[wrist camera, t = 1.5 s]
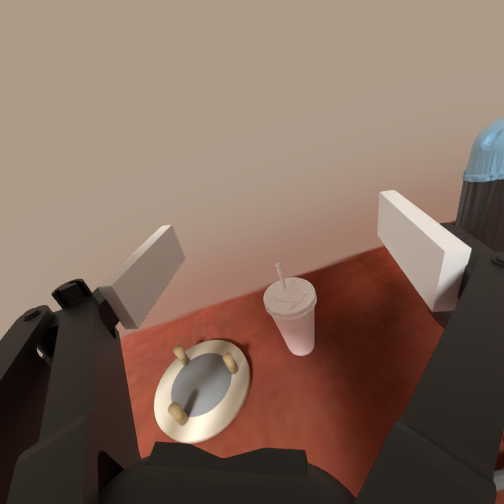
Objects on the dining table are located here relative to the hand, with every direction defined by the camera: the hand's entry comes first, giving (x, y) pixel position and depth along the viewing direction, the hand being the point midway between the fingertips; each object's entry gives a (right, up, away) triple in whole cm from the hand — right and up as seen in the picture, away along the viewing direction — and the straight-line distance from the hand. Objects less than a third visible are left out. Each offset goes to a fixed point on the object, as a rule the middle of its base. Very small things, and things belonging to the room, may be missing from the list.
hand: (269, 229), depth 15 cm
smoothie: (+6, -15, +19) cm, 24 cm away
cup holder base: (-8, -20, +17) cm, 27 cm away
